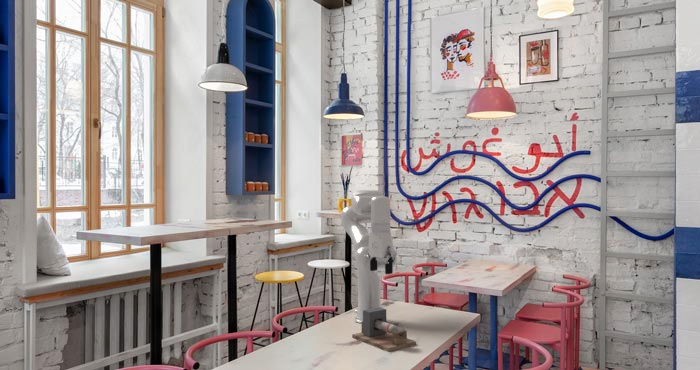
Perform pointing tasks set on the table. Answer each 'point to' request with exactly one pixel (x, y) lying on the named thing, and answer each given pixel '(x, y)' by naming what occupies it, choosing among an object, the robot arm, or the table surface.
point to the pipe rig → (386, 337)
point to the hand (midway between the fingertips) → (381, 272)
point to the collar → (369, 321)
